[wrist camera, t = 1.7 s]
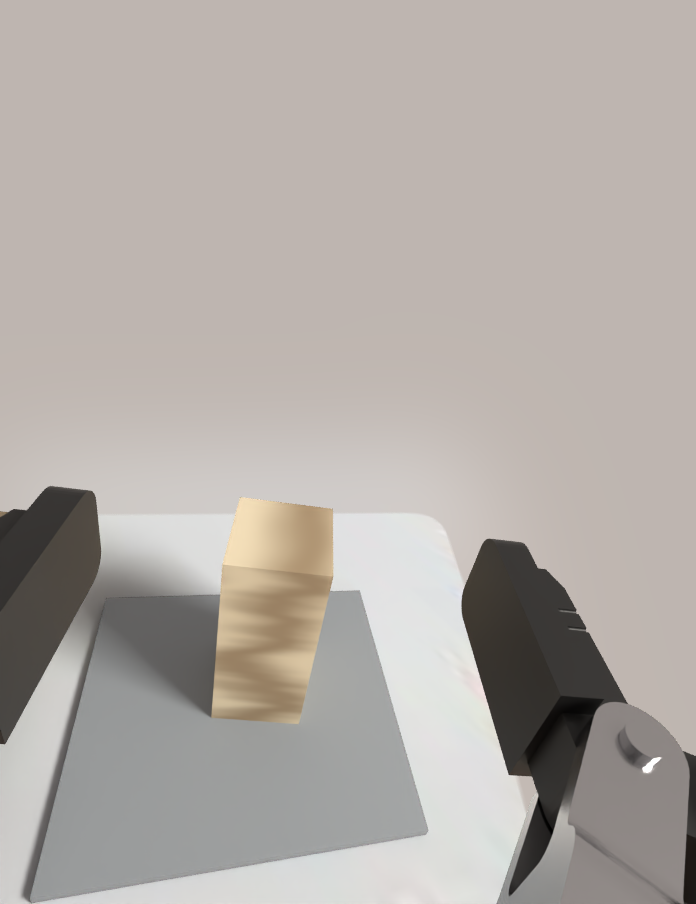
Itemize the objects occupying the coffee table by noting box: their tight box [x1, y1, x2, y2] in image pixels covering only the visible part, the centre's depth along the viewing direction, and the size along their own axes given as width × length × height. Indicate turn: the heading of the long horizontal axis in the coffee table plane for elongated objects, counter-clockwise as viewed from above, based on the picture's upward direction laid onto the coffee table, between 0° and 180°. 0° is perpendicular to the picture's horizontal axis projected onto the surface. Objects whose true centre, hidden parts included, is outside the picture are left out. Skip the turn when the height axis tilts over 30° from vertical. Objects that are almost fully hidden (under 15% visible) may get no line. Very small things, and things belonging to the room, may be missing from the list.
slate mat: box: [30, 591, 428, 903], centre depth 30 cm, size 18×16×1 cm
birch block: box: [211, 497, 333, 724], centre depth 28 cm, size 5×5×12 cm
